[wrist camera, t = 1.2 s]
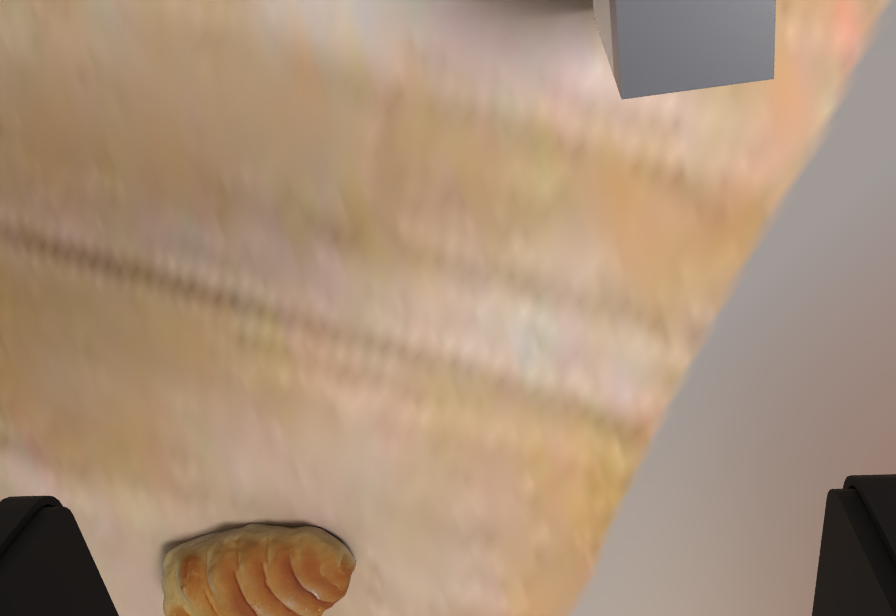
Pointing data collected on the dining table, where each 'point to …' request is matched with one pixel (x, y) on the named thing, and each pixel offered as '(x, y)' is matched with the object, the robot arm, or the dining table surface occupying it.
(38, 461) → the dining table surface
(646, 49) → the grey square bar
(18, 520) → the robot arm
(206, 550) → the pastry
